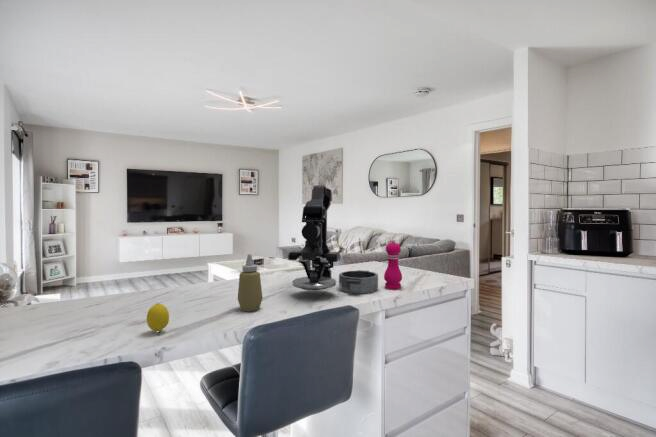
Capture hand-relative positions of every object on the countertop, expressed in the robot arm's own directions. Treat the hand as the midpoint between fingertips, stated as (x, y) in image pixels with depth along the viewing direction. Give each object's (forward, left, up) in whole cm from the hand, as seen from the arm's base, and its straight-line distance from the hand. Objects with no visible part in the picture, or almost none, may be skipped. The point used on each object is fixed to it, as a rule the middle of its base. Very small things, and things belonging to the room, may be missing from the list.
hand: (314, 279), depth 140 cm
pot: (+14, +14, -6) cm, 21 cm away
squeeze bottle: (-15, -22, -6) cm, 27 cm away
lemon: (-29, -48, -6) cm, 56 cm away
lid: (0, 0, -3) cm, 3 cm away
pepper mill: (+27, +20, -6) cm, 34 cm away
